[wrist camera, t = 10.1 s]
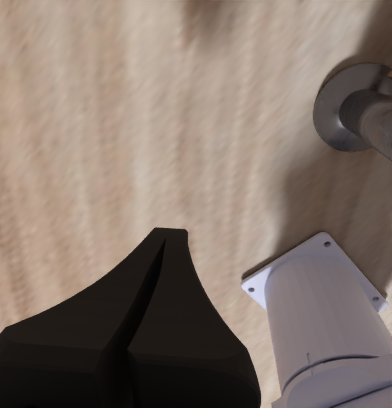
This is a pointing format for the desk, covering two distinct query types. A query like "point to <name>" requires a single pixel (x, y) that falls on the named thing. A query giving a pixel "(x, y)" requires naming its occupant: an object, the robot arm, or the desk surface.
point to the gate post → (356, 109)
